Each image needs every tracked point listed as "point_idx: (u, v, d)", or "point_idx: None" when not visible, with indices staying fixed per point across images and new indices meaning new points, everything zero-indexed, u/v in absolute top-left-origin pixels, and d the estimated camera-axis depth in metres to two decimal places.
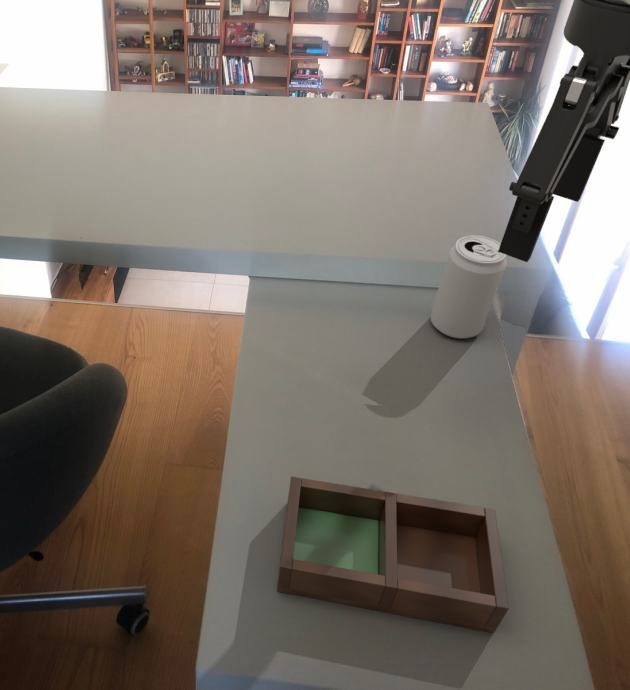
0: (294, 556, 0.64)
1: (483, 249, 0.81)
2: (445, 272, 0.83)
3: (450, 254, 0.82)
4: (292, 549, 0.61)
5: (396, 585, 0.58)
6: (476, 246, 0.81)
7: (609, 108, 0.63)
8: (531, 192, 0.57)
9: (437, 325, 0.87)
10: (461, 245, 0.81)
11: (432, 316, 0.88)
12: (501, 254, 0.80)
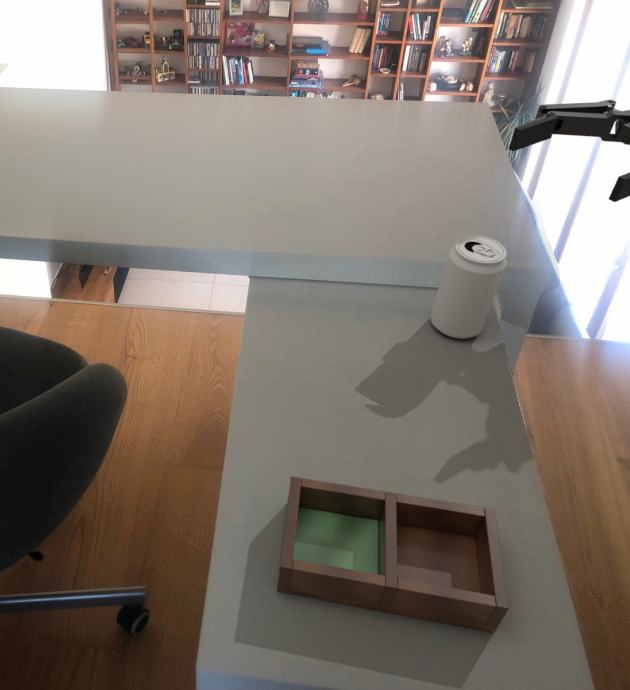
0: (294, 556, 0.64)
1: (482, 249, 0.81)
2: (445, 272, 0.83)
3: (450, 254, 0.82)
4: (292, 549, 0.61)
5: (396, 585, 0.58)
6: (476, 246, 0.81)
7: None
8: None
9: (437, 325, 0.87)
10: (461, 245, 0.81)
11: (432, 316, 0.88)
12: (501, 254, 0.80)
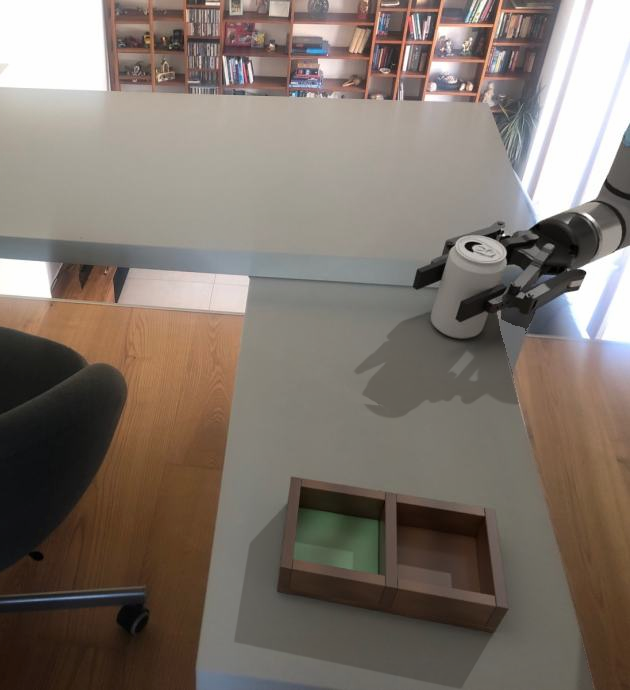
0: (294, 556, 0.64)
1: (482, 249, 0.81)
2: (445, 272, 0.83)
3: (450, 254, 0.82)
4: (292, 549, 0.61)
5: (396, 585, 0.58)
6: (476, 246, 0.81)
7: (527, 267, 0.84)
8: None
9: (437, 325, 0.87)
10: (461, 245, 0.81)
11: (432, 316, 0.88)
12: (501, 254, 0.80)
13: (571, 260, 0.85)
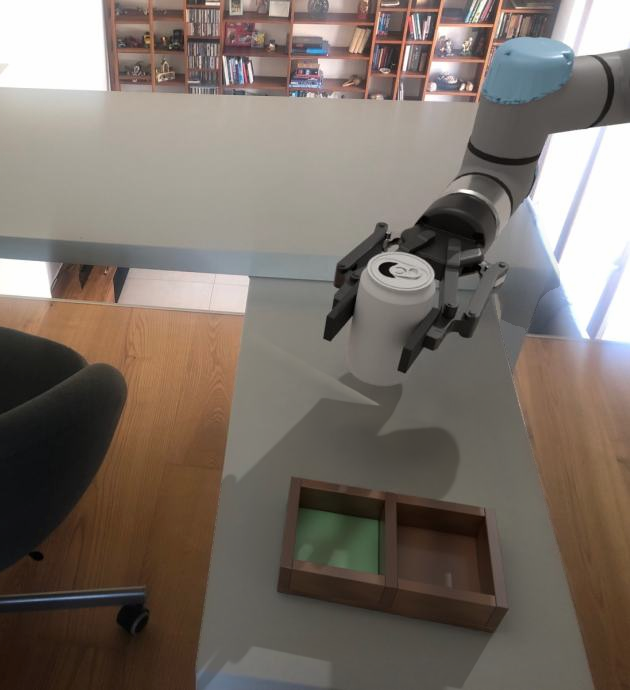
0: (294, 556, 0.64)
1: (403, 270, 0.60)
2: (361, 310, 0.62)
3: (365, 286, 0.60)
4: (292, 549, 0.61)
5: (396, 585, 0.58)
6: (393, 268, 0.60)
7: (445, 276, 0.65)
8: None
9: (362, 376, 0.65)
10: (375, 271, 0.60)
11: (350, 366, 0.66)
12: (427, 271, 0.60)
13: (482, 253, 0.68)
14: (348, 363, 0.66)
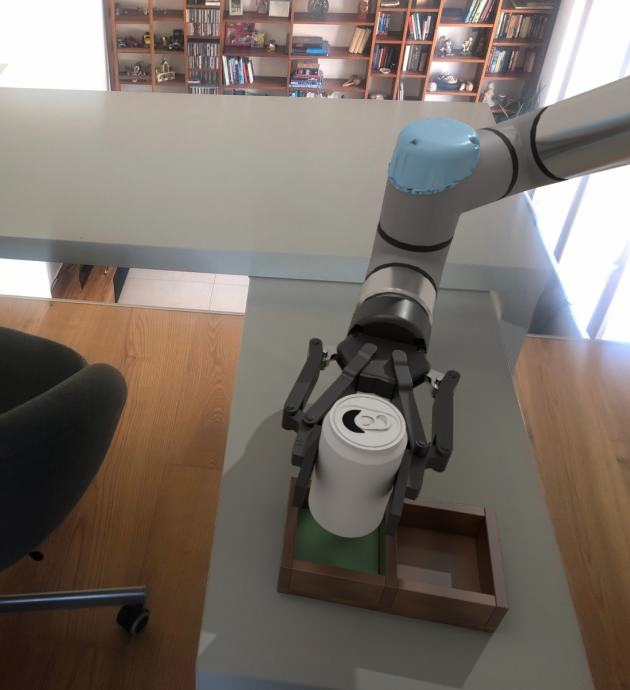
0: (294, 556, 0.64)
1: (369, 419, 0.53)
2: (330, 469, 0.54)
3: (332, 446, 0.52)
4: (292, 549, 0.61)
5: (396, 585, 0.58)
6: (358, 418, 0.53)
7: (401, 401, 0.59)
8: None
9: (335, 531, 0.58)
10: (340, 427, 0.52)
11: (320, 519, 0.58)
12: (396, 416, 0.53)
13: (428, 361, 0.63)
14: (316, 516, 0.58)
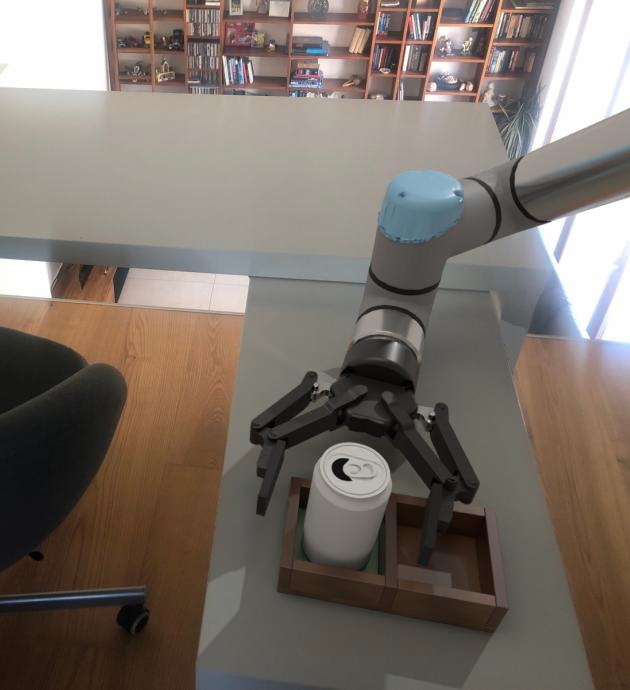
0: (294, 556, 0.64)
1: (357, 468, 0.57)
2: (321, 513, 0.58)
3: (322, 493, 0.56)
4: (292, 549, 0.61)
5: (396, 585, 0.58)
6: (346, 467, 0.57)
7: (410, 440, 0.63)
8: None
9: None
10: (330, 476, 0.56)
11: (312, 557, 0.62)
12: (381, 465, 0.57)
13: (415, 401, 0.66)
14: (309, 554, 0.63)
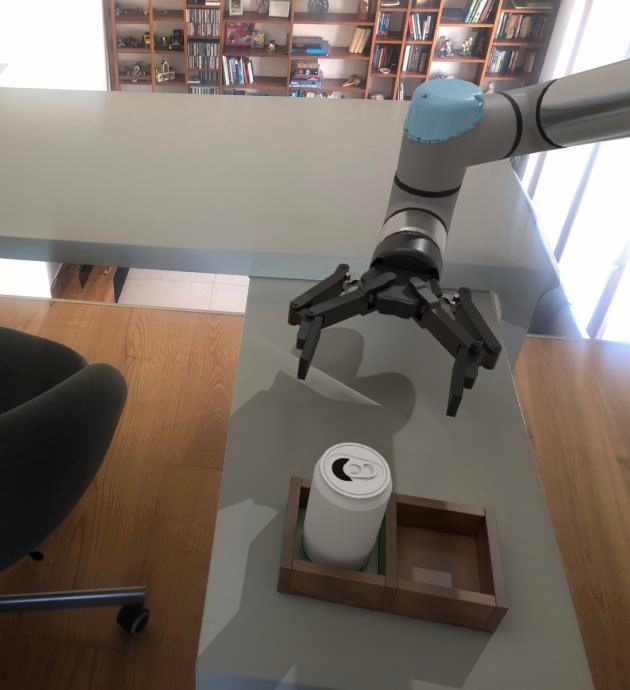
0: (294, 556, 0.64)
1: (357, 468, 0.57)
2: (321, 513, 0.58)
3: (322, 493, 0.56)
4: (292, 549, 0.61)
5: (396, 585, 0.58)
6: (346, 467, 0.57)
7: (437, 316, 0.68)
8: None
9: None
10: (330, 476, 0.56)
11: (312, 557, 0.62)
12: (381, 465, 0.57)
13: (440, 286, 0.72)
14: (309, 554, 0.63)
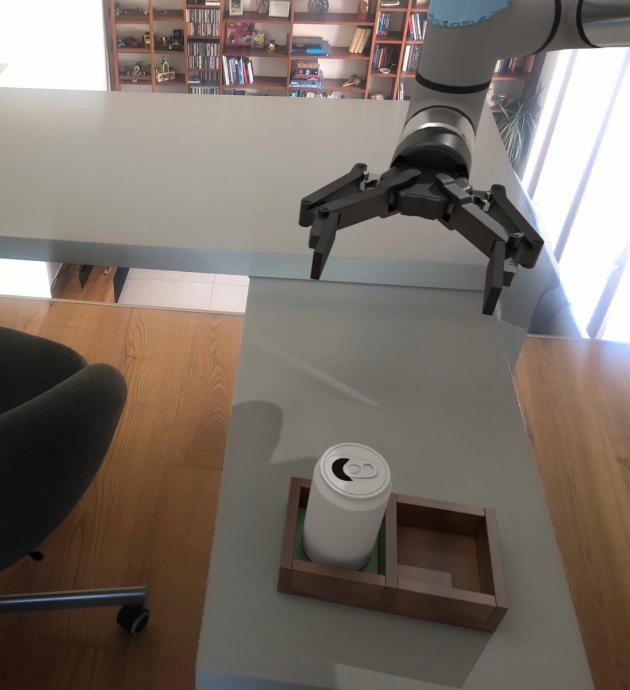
0: (294, 556, 0.64)
1: (357, 468, 0.57)
2: (321, 513, 0.58)
3: (322, 493, 0.56)
4: (292, 549, 0.61)
5: (396, 585, 0.58)
6: (346, 467, 0.57)
7: (468, 212, 0.60)
8: None
9: None
10: (330, 476, 0.56)
11: (312, 557, 0.62)
12: (381, 465, 0.57)
13: None
14: (309, 554, 0.63)
